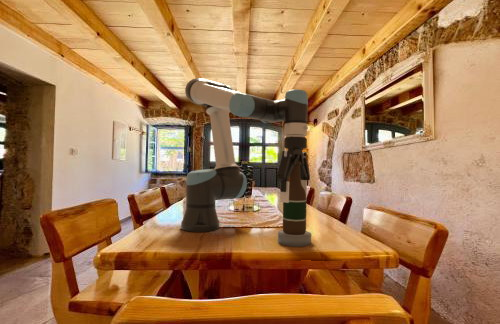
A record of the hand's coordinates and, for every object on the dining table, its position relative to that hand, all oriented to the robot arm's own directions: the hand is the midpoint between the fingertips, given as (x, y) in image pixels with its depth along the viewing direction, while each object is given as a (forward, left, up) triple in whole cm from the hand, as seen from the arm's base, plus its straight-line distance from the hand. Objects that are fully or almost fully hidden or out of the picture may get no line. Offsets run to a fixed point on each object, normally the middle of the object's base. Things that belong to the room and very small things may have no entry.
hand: (294, 200), depth 91 cm
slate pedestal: (0, 0, -14) cm, 14 cm away
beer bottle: (0, 0, -11) cm, 11 cm away
